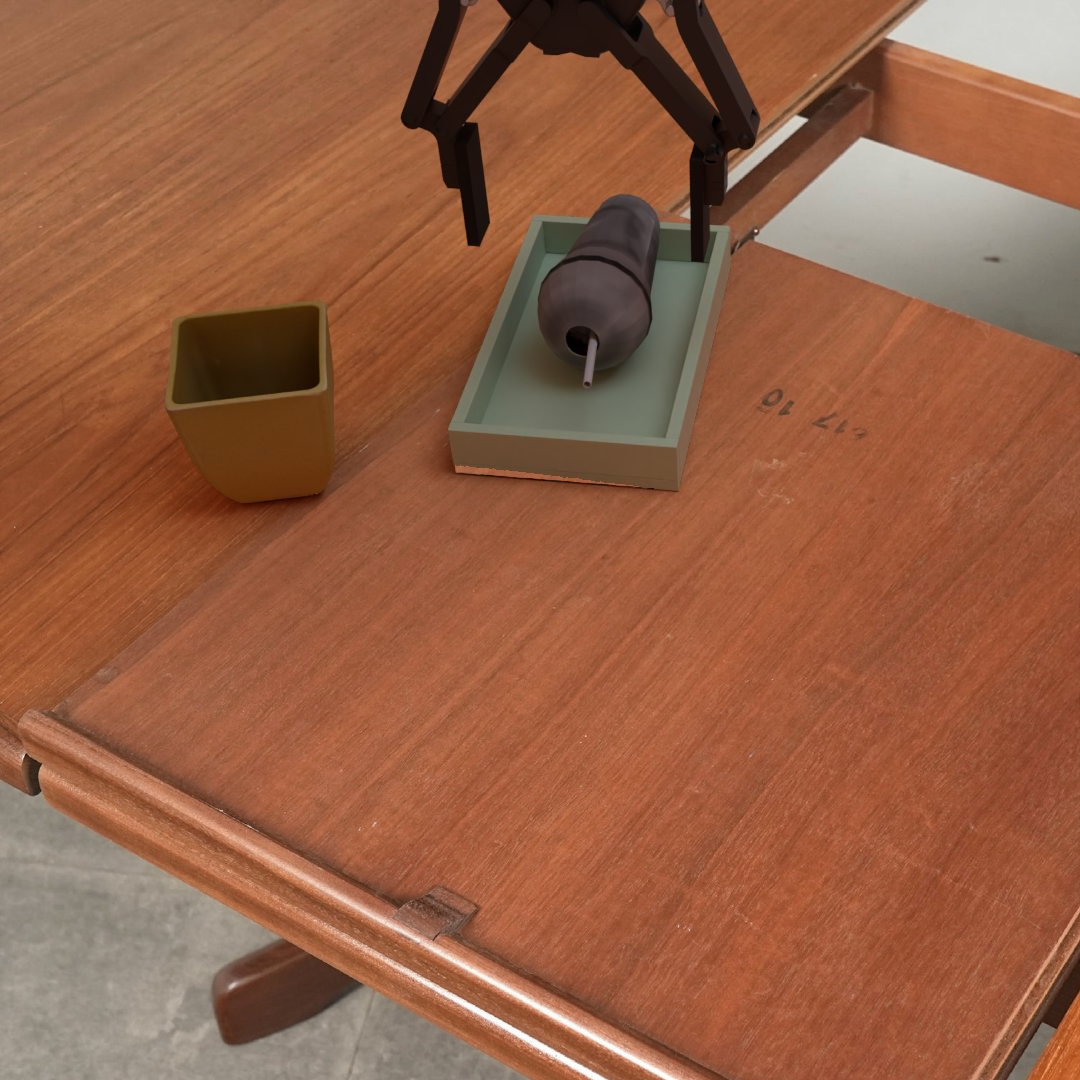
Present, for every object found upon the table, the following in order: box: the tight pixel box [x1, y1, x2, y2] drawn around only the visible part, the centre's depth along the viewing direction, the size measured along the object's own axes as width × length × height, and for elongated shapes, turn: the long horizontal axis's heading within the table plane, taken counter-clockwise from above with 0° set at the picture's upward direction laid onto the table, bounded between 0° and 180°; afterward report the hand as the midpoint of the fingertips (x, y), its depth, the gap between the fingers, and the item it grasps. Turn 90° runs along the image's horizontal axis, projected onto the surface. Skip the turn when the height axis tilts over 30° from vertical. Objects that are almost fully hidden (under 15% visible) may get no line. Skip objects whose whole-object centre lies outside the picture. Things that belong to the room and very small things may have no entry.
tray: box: [447, 214, 732, 492], centre depth 99 cm, size 24×14×3 cm, turn 172°
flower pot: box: [164, 300, 336, 504], centre depth 90 cm, size 9×9×9 cm
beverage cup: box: [537, 193, 661, 388], centre depth 97 cm, size 7×7×20 cm
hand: (589, 242), depth 93 cm, fingers open, 13 cm apart
